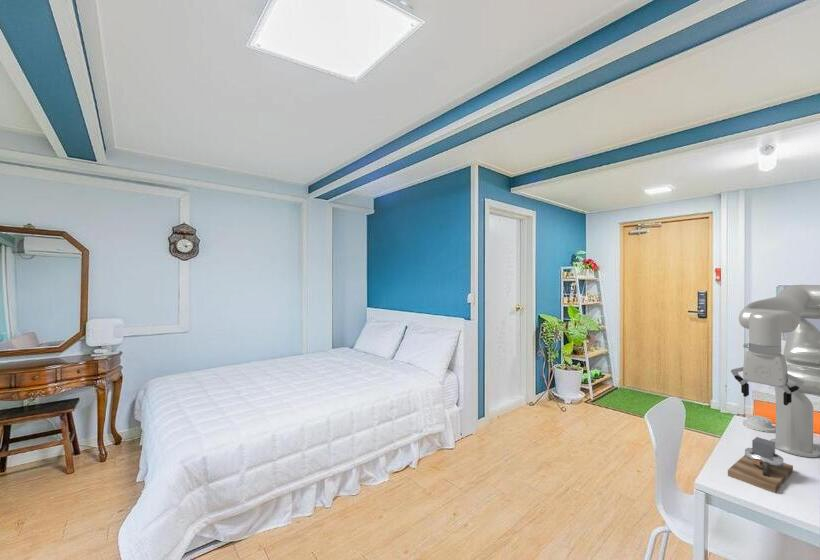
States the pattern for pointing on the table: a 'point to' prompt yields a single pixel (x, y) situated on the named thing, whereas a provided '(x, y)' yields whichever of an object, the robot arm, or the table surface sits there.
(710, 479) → the table surface
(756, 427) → the mechanical component
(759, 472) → the base board
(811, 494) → the table surface
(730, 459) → the table surface
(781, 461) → the flange plate
